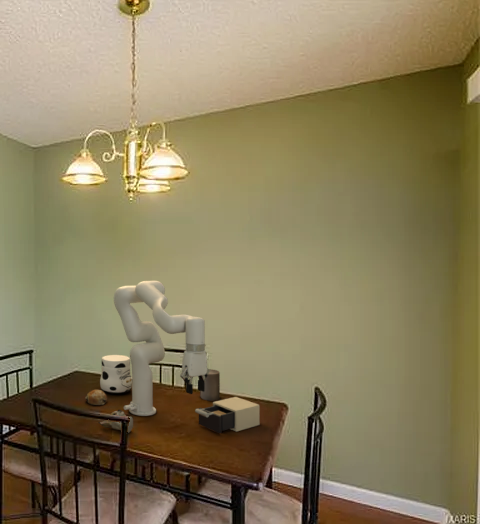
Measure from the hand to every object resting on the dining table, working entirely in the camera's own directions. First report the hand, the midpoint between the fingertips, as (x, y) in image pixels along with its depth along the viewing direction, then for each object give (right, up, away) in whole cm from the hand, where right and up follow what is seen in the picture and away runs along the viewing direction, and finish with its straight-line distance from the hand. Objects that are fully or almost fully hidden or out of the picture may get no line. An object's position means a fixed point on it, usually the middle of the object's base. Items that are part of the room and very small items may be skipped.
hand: (195, 391), depth 173 cm
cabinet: (+21, -17, +12) cm, 30 cm away
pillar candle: (+20, -18, +46) cm, 53 cm away
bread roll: (-39, -18, +40) cm, 59 cm away
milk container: (-27, -18, +58) cm, 67 cm away
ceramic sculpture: (-31, -18, +5) cm, 36 cm away
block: (+12, -15, +7) cm, 21 cm away
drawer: (+10, -17, +6) cm, 20 cm away
